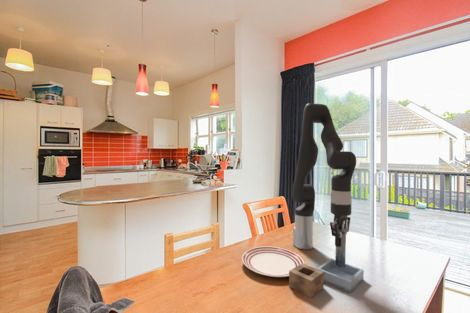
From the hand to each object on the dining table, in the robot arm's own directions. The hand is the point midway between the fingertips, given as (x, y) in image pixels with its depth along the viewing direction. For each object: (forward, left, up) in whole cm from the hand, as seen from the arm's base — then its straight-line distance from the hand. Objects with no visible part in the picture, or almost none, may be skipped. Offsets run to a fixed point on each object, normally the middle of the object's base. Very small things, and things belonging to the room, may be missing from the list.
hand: (340, 244), depth 92 cm
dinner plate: (-25, -11, -14) cm, 31 cm away
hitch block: (-6, -15, -14) cm, 21 cm away
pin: (0, 0, -8) cm, 8 cm away
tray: (0, 0, -14) cm, 14 cm away
